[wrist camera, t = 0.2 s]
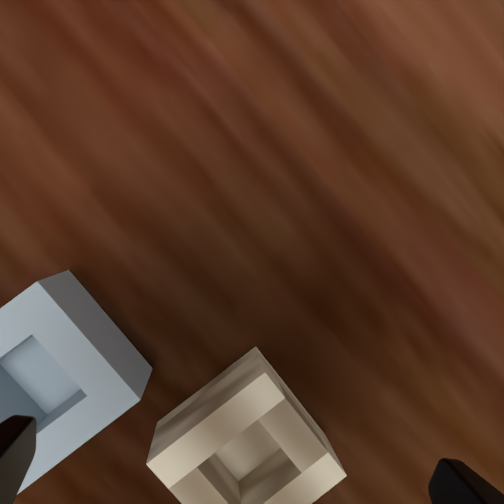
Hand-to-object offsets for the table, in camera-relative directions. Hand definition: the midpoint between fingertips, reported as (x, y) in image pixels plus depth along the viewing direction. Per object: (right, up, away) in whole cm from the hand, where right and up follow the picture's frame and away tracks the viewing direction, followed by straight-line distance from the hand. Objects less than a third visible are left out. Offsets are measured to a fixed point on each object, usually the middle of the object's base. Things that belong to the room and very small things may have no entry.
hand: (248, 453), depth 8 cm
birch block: (0, -7, +16) cm, 18 cm away
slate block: (-12, -2, +14) cm, 19 cm away
